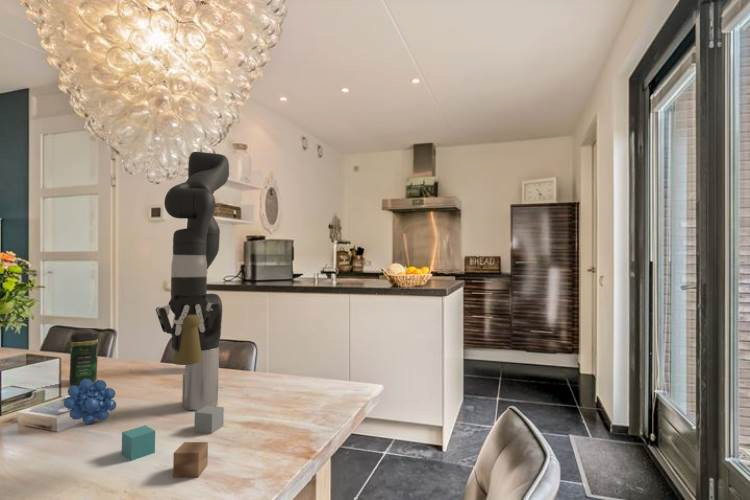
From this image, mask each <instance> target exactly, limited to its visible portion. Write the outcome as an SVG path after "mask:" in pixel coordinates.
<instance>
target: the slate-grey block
mask: <svg viewBox="0 0 750 500" xmlns="http://www.w3.org/2000/svg"><path fill="white" fill-rule="evenodd" d="M224 409H225V408H224V407H223V406H217V405H216V406H205V407H203V408H202V409H200V410H195V412H194V429H193V430H194V432H195V433H202V434H214V433H215V432H217V431H218V430H220V429H221V428H222V427H224V418H225V417H224V415H225V414H224V411H225V410H224Z"/></svg>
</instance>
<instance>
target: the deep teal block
mask: <svg viewBox="0 0 750 500" xmlns="http://www.w3.org/2000/svg"><path fill="white" fill-rule="evenodd" d="M155 453H156V430H154V429H152V428H151V427H150V426H147V425H141V426H138V427H136V428H132V429H128V430H125V431H121V455H122V456H124V457H125V458H126V459H127V460H129V461H130V462H133V461H135V460H138V459H141V458H144V457H146V456H149V455H152V454H155Z"/></svg>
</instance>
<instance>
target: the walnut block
mask: <svg viewBox="0 0 750 500" xmlns="http://www.w3.org/2000/svg"><path fill="white" fill-rule="evenodd" d="M208 447H209V441H184V442H183V443H182V444H180V446H179V447H178V448H177V449H176V450H175V451H174V452H173V457H172V458H173V465H172V466H173V467H172V470H173V471H172V477H173V478H174V479H175V478H176V479H178V478H179V479H182V478H183V479H184V478H185V479H186V478H189V479H190V478H192V479H193V478H194V479H195V478H199V477H200V476H201V475H202V473H203V472H204V471H205V470H206V468H207V467H208V465H209V464H208V462H209V461H208V460H209V459H208V457H209V456H208V455H209V454H208V453H209V448H208Z"/></svg>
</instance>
